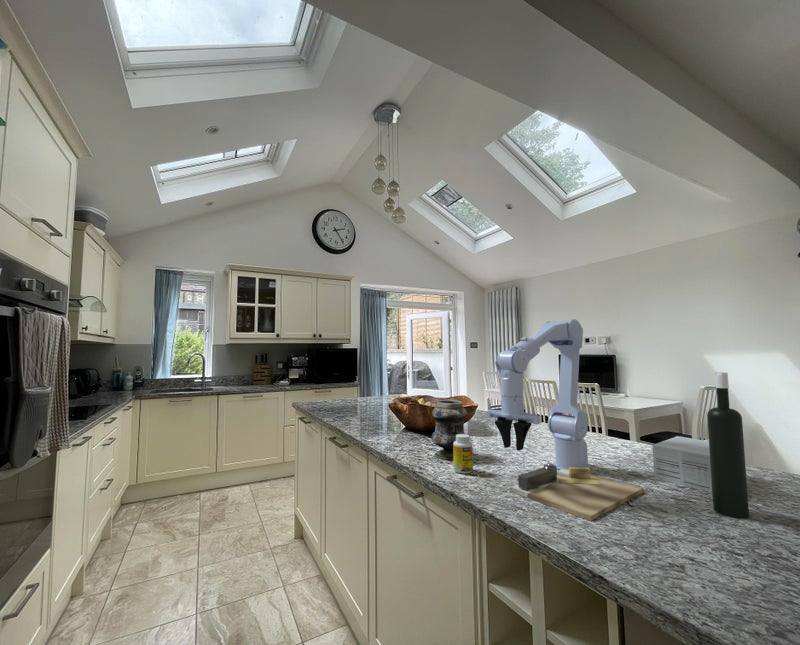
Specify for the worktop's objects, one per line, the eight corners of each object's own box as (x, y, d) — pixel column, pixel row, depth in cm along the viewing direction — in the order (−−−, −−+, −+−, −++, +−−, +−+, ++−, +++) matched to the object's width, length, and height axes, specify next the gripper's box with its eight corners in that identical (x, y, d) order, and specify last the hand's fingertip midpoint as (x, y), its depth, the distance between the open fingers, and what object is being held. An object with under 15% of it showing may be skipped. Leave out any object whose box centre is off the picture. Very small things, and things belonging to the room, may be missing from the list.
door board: (566, 471, 107) (566, 458, 108) (643, 492, 91) (642, 477, 92) (510, 491, 92) (509, 476, 92) (590, 521, 76) (589, 502, 76)
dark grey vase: (471, 461, 118) (469, 403, 119) (433, 461, 118) (432, 403, 119) (464, 450, 130) (463, 398, 131) (430, 450, 130) (430, 398, 131)
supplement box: (678, 467, 111) (676, 435, 112) (735, 479, 100) (733, 444, 101) (652, 478, 102) (651, 443, 103) (713, 493, 91) (710, 454, 92)
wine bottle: (752, 521, 76) (741, 373, 78) (716, 514, 79) (706, 372, 81) (745, 510, 81) (735, 372, 83) (711, 505, 84) (702, 371, 86)
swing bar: (548, 475, 100) (548, 461, 100) (559, 479, 97) (559, 464, 97) (517, 486, 92) (516, 471, 92) (528, 490, 89) (527, 474, 89)
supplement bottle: (462, 475, 104) (462, 438, 105) (449, 470, 109) (449, 434, 109) (477, 472, 107) (476, 436, 108) (463, 467, 112) (463, 432, 112)
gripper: (480, 394, 101) (481, 445, 100) (530, 399, 90) (532, 457, 89) (494, 392, 106) (495, 441, 105) (543, 397, 95) (545, 451, 94)
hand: (513, 448), depth 97 cm, fingers open, 3 cm apart
